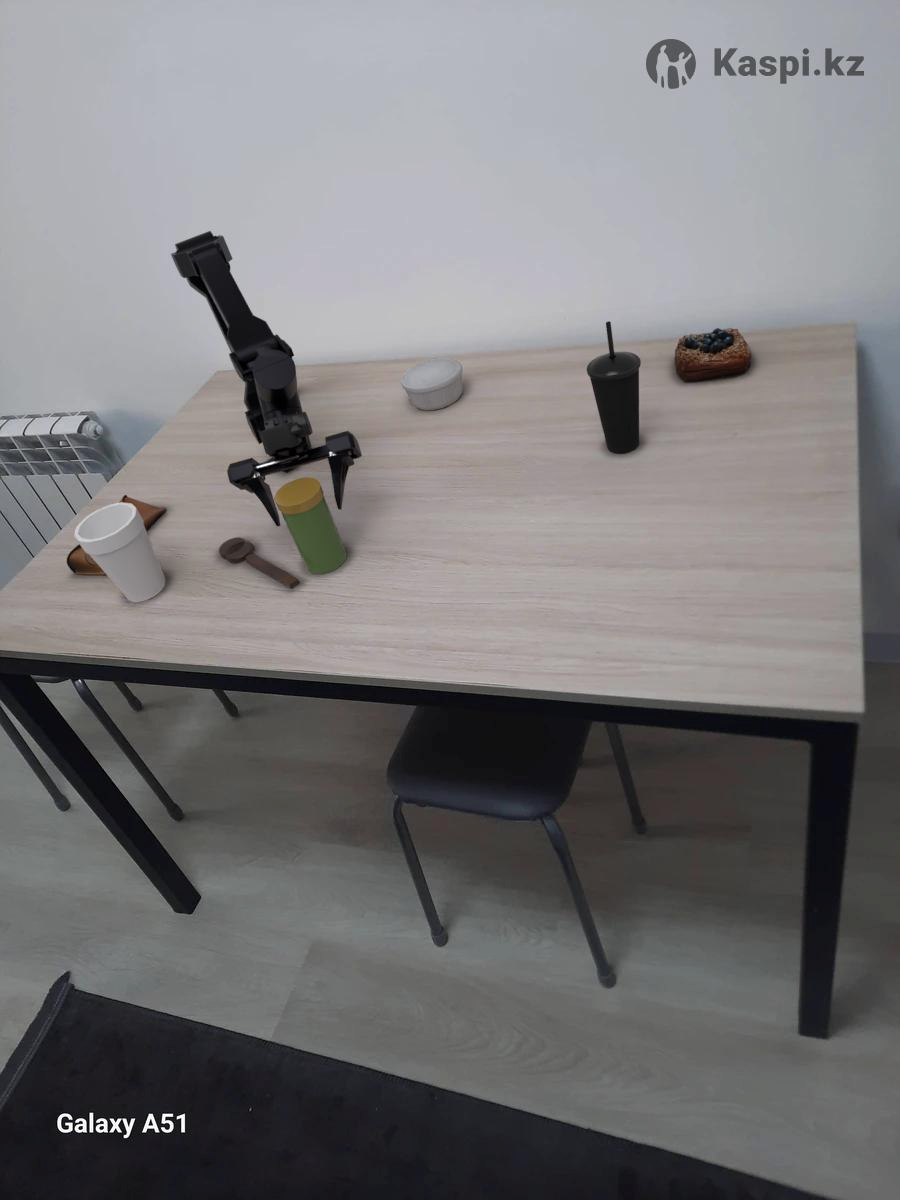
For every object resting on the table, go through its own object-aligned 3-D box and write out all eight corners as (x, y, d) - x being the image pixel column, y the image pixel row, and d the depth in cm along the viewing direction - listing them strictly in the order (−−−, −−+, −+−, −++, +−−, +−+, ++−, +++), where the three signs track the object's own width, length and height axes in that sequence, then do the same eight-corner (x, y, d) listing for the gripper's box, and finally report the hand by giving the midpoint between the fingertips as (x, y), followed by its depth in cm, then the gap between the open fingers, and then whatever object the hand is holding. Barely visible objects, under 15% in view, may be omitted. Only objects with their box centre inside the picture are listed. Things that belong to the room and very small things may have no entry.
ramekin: (396, 411, 157) (388, 386, 154) (428, 381, 163) (421, 355, 160) (447, 416, 151) (440, 390, 148) (478, 384, 157) (472, 358, 154)
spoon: (215, 553, 135) (213, 549, 135) (237, 538, 137) (235, 534, 137) (283, 594, 123) (281, 590, 122) (307, 577, 125) (305, 572, 124)
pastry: (672, 356, 148) (669, 324, 145) (744, 343, 146) (744, 311, 142) (678, 387, 140) (676, 354, 136) (755, 374, 138) (755, 340, 134)
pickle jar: (296, 565, 128) (265, 497, 120) (329, 540, 131) (301, 472, 123) (322, 580, 123) (292, 510, 115) (356, 554, 126) (329, 484, 118)
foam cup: (109, 591, 134) (66, 526, 126) (161, 561, 138) (123, 495, 129) (129, 617, 128) (86, 550, 120) (183, 584, 131) (145, 516, 123)
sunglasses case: (111, 573, 137) (77, 545, 135) (93, 589, 142) (59, 562, 139) (169, 505, 150) (138, 479, 147) (150, 522, 154) (120, 497, 152)
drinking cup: (592, 459, 130) (574, 336, 118) (604, 431, 135) (588, 311, 123) (642, 459, 127) (629, 334, 114) (653, 431, 132) (641, 308, 119)
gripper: (202, 416, 117) (229, 525, 115) (333, 379, 116) (361, 489, 114) (229, 438, 128) (253, 537, 126) (348, 404, 127) (374, 504, 126)
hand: (309, 517), depth 123 cm, fingers open, 9 cm apart
